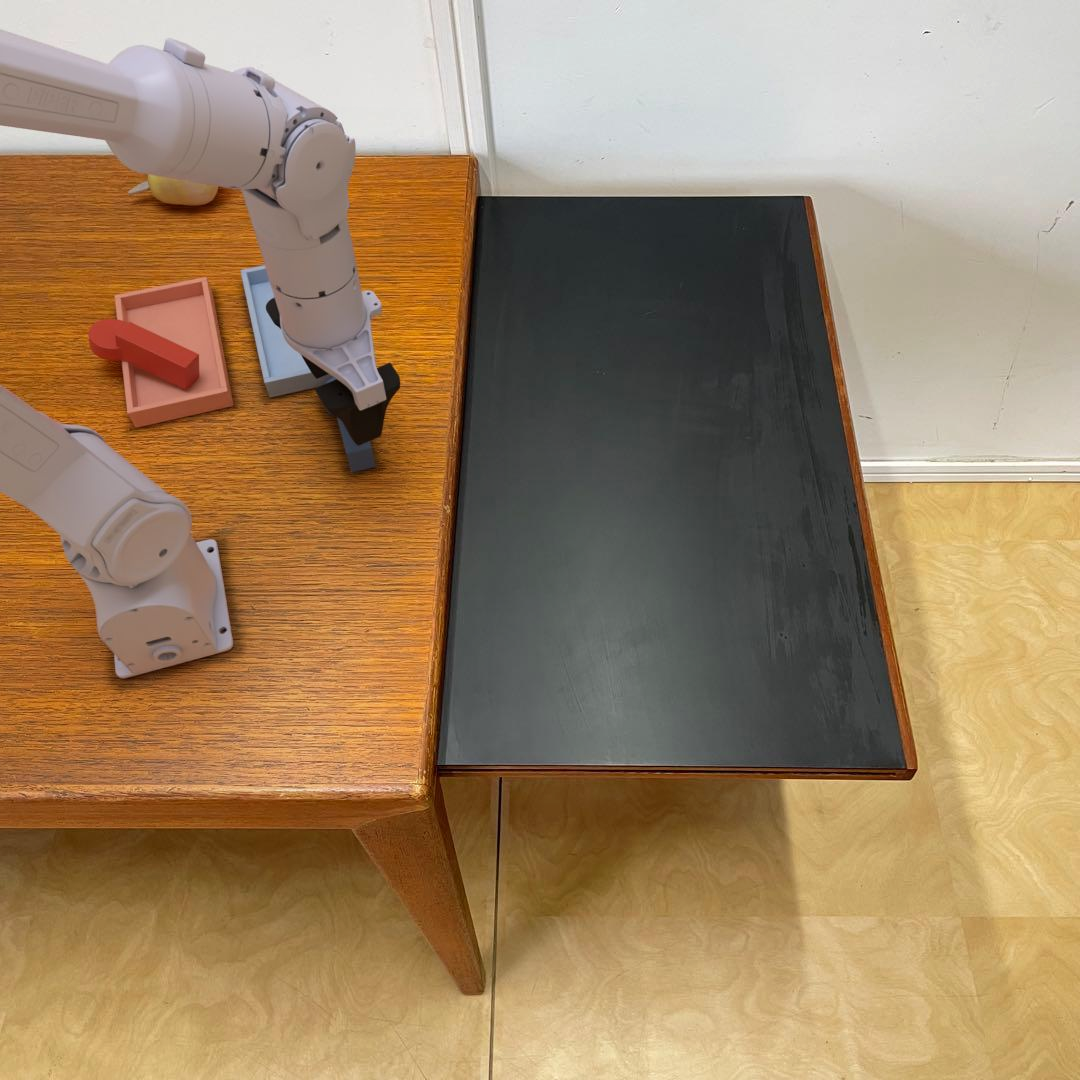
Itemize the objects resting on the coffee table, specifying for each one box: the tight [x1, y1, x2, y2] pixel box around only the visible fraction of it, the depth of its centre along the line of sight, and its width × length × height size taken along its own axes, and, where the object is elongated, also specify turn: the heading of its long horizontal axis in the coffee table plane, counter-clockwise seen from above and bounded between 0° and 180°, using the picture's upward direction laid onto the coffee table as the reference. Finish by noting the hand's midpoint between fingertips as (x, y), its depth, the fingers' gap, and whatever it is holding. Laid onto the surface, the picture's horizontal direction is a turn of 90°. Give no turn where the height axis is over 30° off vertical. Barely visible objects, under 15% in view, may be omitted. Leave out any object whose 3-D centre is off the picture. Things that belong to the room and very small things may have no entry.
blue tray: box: [240, 264, 333, 398], centre depth 81 cm, size 14×8×2 cm, turn 18°
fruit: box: [127, 174, 219, 207], centre depth 88 cm, size 6×6×10 cm
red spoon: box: [87, 318, 199, 389], centre depth 76 cm, size 9×4×3 cm, turn 68°
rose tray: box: [114, 276, 235, 429], centre depth 79 cm, size 14×8×2 cm, turn 18°
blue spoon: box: [324, 377, 377, 473], centre depth 75 cm, size 9×4×3 cm, turn 18°
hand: (346, 403), depth 71 cm, fingers open, 7 cm apart
